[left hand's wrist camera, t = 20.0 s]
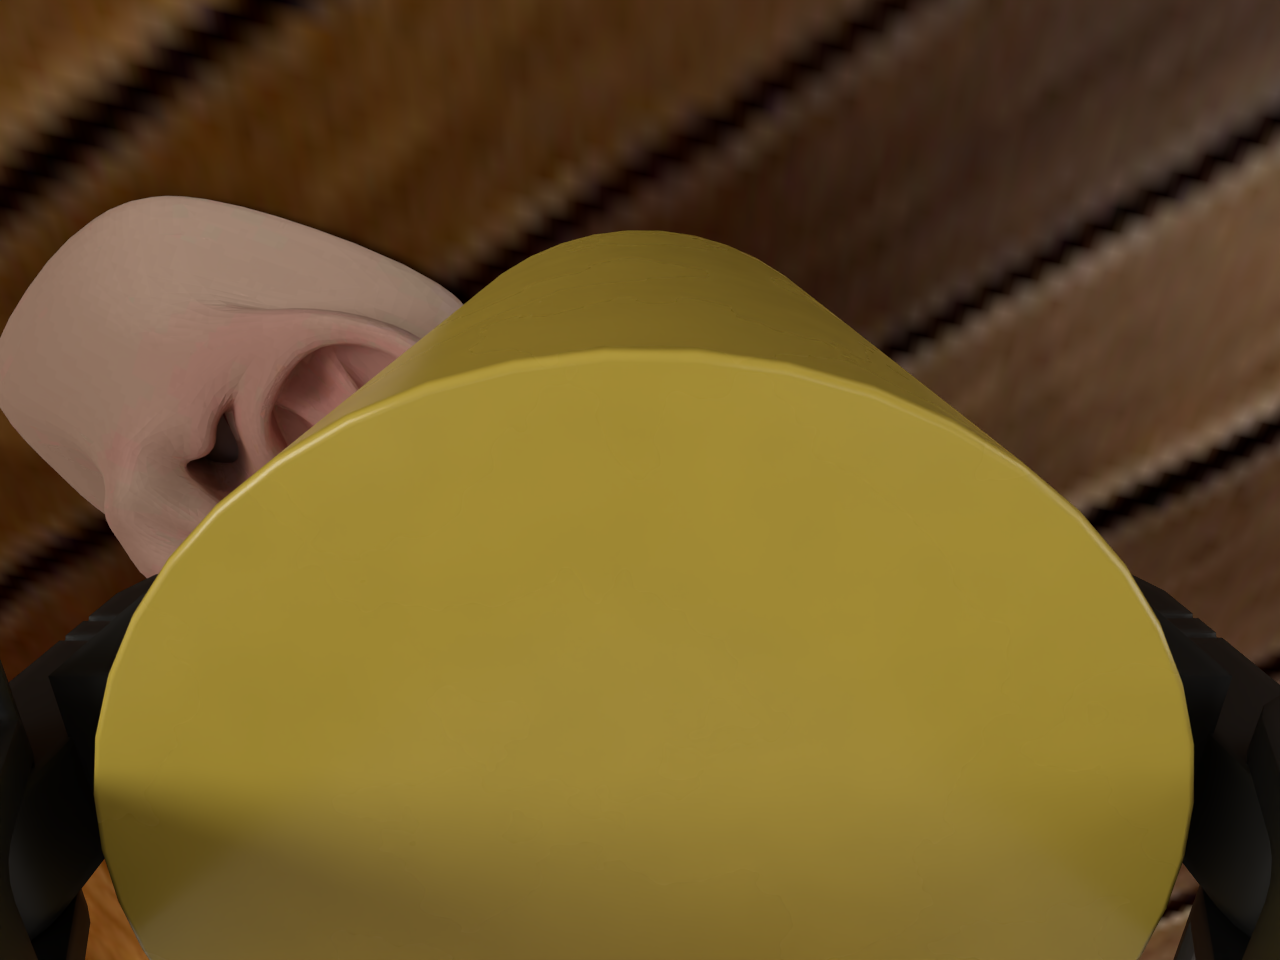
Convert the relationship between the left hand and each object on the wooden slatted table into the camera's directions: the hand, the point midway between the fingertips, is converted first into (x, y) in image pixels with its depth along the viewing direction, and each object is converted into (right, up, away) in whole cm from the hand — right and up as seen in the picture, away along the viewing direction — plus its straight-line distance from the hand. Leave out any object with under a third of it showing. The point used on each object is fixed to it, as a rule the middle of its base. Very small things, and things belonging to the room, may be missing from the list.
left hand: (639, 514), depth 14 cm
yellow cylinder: (0, +1, +2) cm, 2 cm away
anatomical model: (-11, +3, +10) cm, 15 cm away
